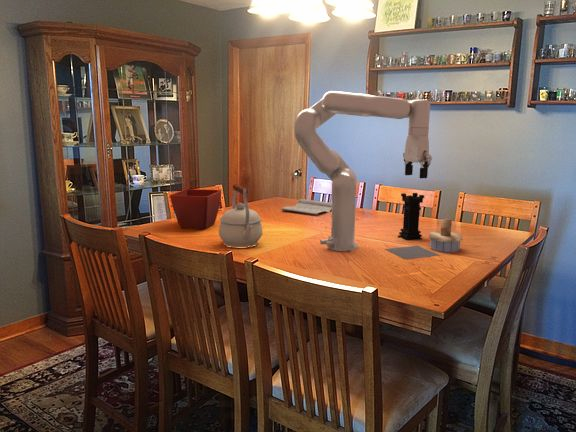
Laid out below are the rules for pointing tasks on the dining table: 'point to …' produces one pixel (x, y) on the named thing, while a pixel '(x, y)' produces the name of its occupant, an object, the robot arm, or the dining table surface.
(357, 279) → the dining table surface
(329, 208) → the mat
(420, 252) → the rubber mat
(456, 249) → the bowl
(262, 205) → the dining table surface
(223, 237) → the kettle
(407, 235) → the chess piece
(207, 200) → the plant pot
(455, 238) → the lid
